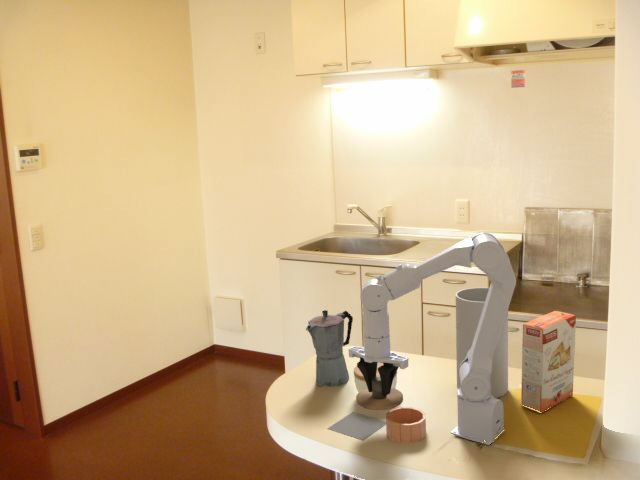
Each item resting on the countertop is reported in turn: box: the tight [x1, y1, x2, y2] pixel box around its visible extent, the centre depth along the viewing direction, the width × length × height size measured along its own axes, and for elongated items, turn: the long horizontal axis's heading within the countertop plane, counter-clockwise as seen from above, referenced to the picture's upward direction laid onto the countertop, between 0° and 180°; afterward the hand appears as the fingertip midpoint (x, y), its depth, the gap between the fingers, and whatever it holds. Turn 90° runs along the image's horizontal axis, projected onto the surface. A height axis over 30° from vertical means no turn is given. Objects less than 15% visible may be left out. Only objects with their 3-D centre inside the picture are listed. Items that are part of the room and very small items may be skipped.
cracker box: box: [520, 310, 577, 413], centre depth 158 cm, size 14×6×21 cm, turn 129°
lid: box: [355, 377, 404, 411], centre depth 149 cm, size 10×10×5 cm
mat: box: [326, 411, 386, 441], centre depth 153 cm, size 10×10×1 cm
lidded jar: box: [353, 362, 398, 394], centre depth 166 cm, size 11×11×9 cm
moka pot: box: [305, 310, 354, 387], centre depth 177 cm, size 10×15×20 cm, turn 132°
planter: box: [385, 406, 427, 444], centre depth 148 cm, size 9×9×4 cm
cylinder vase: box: [455, 287, 509, 399], centre depth 166 cm, size 12×12×25 cm
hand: (379, 392), depth 149 cm, fingers closed on lid, 3 cm apart
